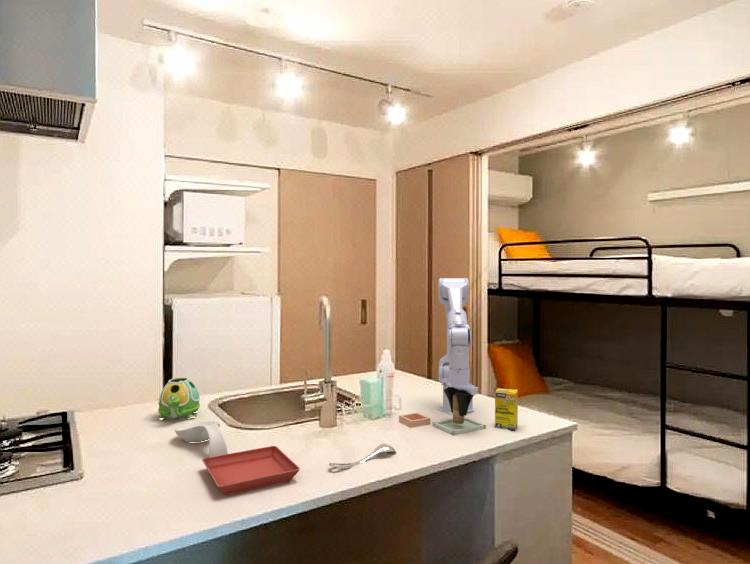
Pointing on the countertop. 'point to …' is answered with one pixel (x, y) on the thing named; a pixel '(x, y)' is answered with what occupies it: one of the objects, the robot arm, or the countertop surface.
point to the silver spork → (377, 450)
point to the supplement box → (506, 408)
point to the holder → (414, 420)
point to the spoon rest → (204, 436)
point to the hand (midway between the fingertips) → (459, 413)
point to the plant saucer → (250, 469)
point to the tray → (458, 426)
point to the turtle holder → (178, 399)
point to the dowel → (456, 412)
